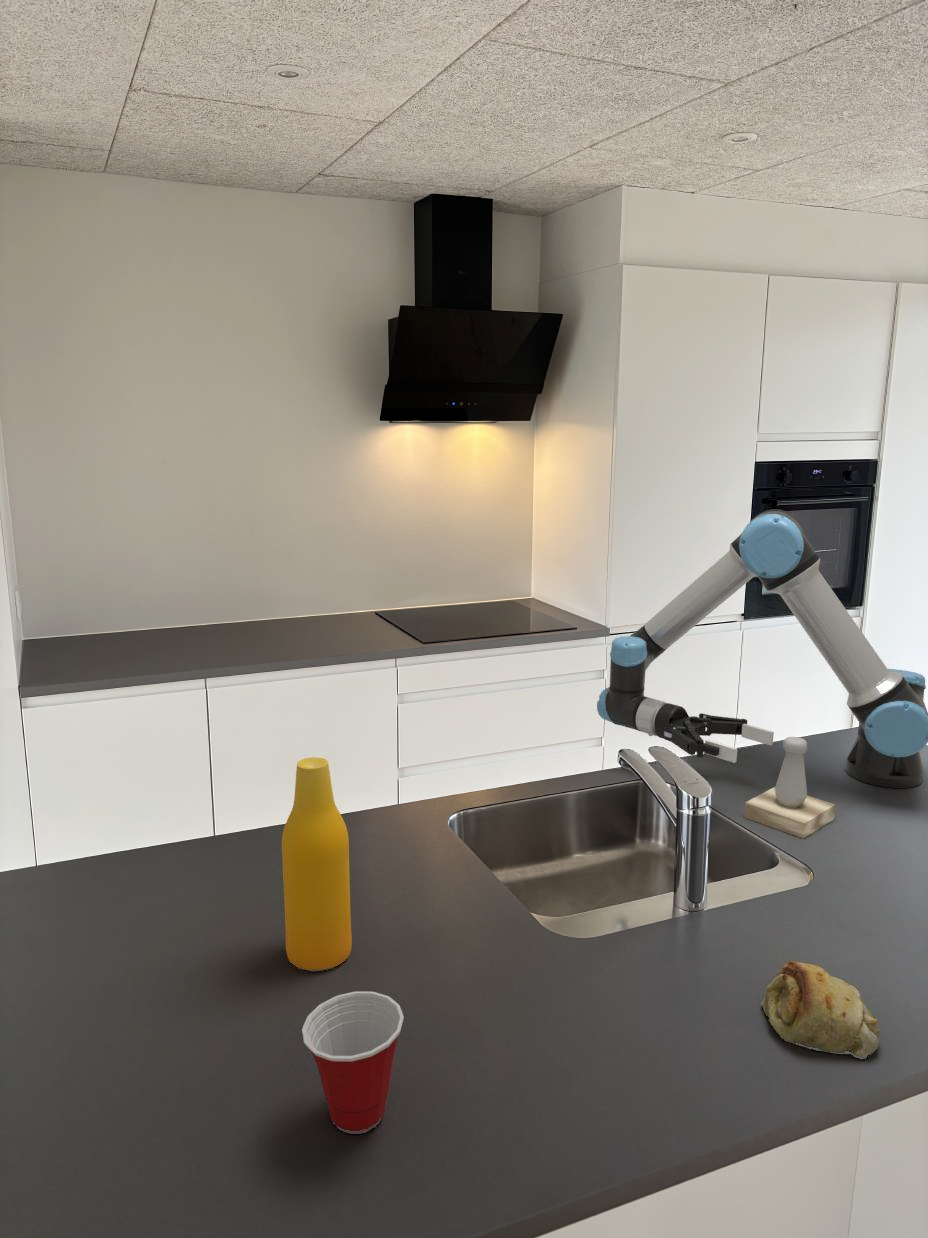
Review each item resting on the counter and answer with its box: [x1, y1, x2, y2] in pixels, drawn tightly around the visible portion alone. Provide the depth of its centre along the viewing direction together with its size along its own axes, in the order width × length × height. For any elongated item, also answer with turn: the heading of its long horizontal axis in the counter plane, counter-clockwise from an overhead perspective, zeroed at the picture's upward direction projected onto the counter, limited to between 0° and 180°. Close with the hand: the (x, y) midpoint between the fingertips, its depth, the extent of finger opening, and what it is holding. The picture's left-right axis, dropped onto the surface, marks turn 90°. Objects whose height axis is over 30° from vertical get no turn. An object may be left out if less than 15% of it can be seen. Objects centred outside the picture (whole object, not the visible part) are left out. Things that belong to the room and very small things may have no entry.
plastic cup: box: [301, 991, 404, 1131], centre depth 97 cm, size 11×11×12 cm
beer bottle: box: [281, 756, 353, 970], centre depth 125 cm, size 9×9×29 cm
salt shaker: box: [774, 736, 808, 808], centre depth 170 cm, size 6×6×13 cm
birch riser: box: [743, 785, 836, 840], centre depth 171 cm, size 12×12×3 cm
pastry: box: [760, 960, 881, 1058], centre depth 112 cm, size 14×12×8 cm
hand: (754, 747), depth 175 cm, fingers open, 13 cm apart
